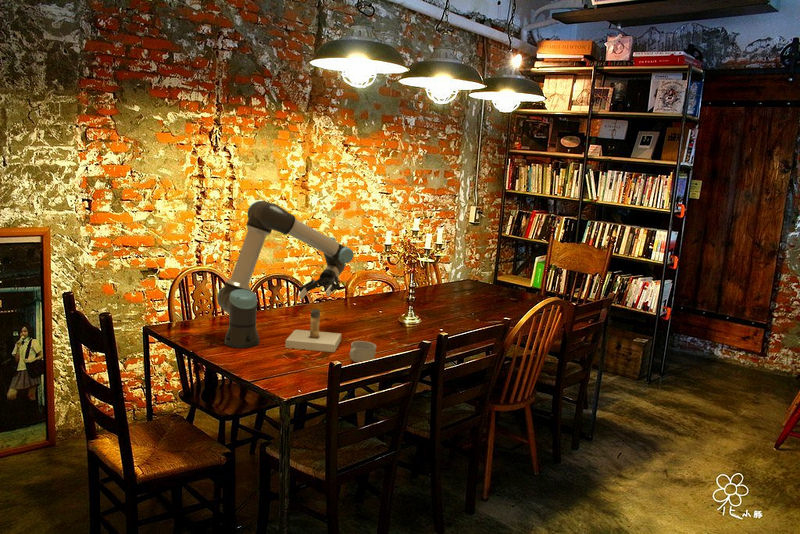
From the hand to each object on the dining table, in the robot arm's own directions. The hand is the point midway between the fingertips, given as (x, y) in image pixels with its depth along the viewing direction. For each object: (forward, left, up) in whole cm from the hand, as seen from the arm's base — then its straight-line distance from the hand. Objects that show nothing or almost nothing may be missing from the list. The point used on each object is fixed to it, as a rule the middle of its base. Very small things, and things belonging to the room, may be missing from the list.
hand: (313, 295), depth 288 cm
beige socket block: (+2, -5, -22) cm, 22 cm away
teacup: (+26, -25, -22) cm, 42 cm away
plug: (+2, -5, -22) cm, 22 cm away
